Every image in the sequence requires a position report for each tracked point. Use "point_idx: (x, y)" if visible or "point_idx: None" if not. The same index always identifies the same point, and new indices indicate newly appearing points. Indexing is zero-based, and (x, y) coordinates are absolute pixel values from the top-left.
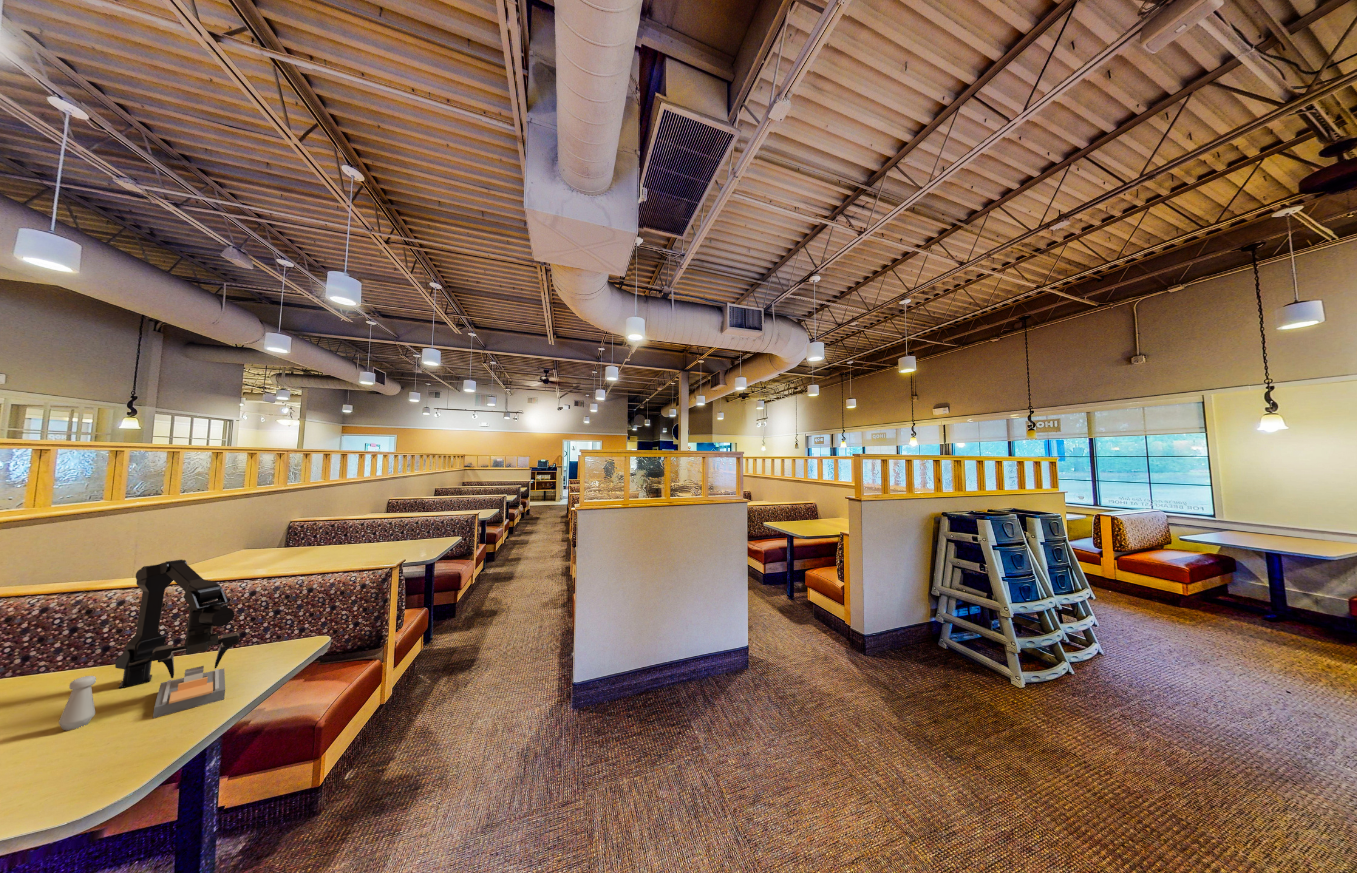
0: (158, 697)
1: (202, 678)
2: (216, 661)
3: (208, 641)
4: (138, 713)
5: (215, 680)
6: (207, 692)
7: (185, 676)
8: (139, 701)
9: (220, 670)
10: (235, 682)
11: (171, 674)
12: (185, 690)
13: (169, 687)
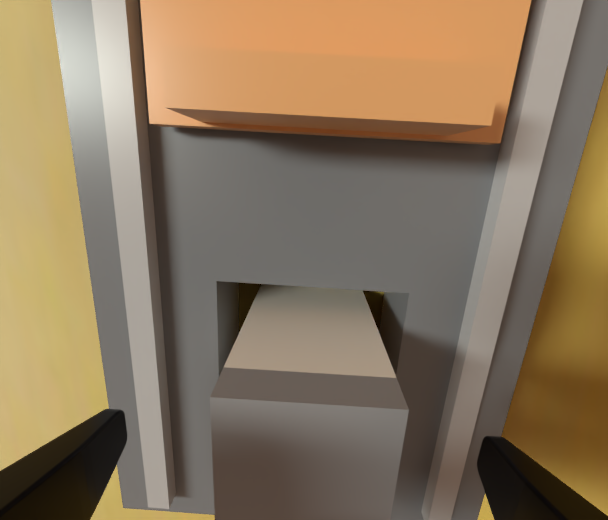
0: (568, 163)
1: (223, 79)
2: (28, 486)
3: None
4: (603, 155)
5: (138, 185)
6: None
7: (386, 379)
8: (540, 404)
9: (142, 481)
10: (78, 276)
11: (545, 478)
12: (391, 40)
13: (470, 342)
